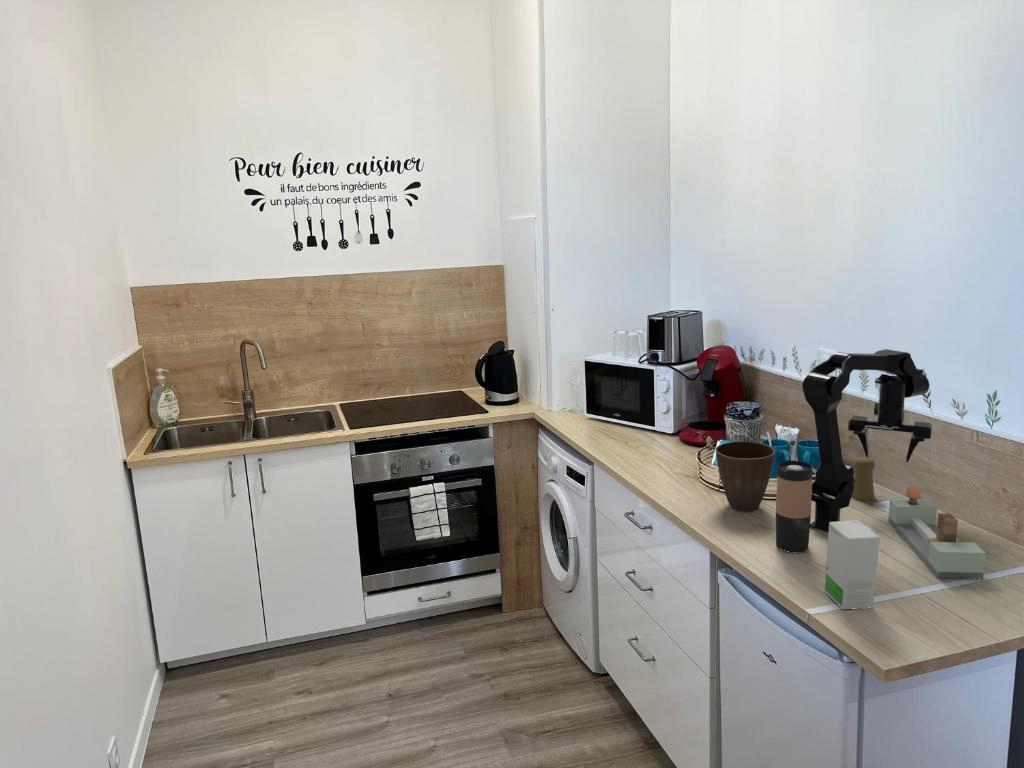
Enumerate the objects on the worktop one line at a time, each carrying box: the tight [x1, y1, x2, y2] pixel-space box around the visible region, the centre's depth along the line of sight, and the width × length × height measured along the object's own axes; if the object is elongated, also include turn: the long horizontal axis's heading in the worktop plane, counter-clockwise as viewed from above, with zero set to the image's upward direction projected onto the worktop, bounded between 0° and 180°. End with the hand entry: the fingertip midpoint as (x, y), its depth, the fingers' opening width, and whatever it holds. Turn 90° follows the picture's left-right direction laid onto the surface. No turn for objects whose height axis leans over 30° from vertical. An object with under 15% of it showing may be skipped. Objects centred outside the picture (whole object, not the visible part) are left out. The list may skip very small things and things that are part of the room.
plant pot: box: [715, 441, 776, 513], centre depth 201 cm, size 15×15×16 cm
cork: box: [851, 456, 876, 502], centre depth 205 cm, size 6×6×11 cm
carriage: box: [926, 512, 960, 546], centre depth 166 cm, size 5×6×8 cm
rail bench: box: [887, 498, 986, 580], centre depth 173 cm, size 30×9×6 cm, turn 172°
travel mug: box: [775, 460, 813, 553], centre depth 176 cm, size 8×8×20 cm
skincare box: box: [823, 519, 881, 609], centre depth 152 cm, size 8×7×16 cm
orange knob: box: [905, 485, 922, 505], centre depth 184 cm, size 3×3×4 cm
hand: (887, 459), depth 194 cm, fingers open, 9 cm apart
